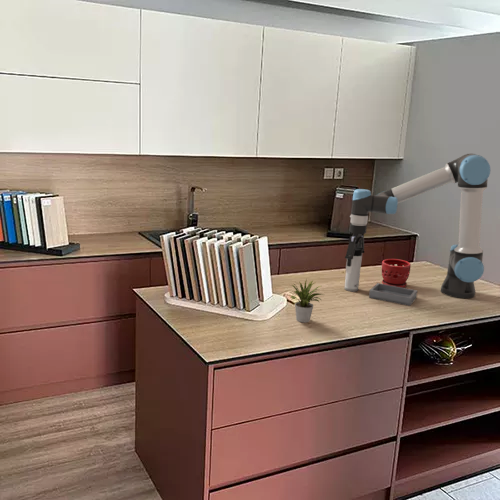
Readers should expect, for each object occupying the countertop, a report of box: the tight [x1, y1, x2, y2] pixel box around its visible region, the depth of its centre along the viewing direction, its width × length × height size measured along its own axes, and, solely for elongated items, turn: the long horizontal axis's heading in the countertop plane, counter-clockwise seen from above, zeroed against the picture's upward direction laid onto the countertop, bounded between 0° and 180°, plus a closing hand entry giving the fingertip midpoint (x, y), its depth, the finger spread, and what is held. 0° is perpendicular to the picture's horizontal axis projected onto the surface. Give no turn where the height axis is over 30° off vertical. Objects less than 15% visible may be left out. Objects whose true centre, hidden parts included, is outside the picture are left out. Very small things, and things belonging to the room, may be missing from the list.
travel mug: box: [344, 247, 363, 292], centre depth 256 cm, size 6×7×20 cm
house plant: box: [289, 278, 325, 323], centre depth 214 cm, size 14×14×16 cm
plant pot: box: [381, 258, 412, 288], centre depth 266 cm, size 13×13×12 cm
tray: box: [368, 282, 418, 307], centre depth 250 cm, size 18×13×4 cm
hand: (353, 269), depth 256 cm, fingers open, 13 cm apart
